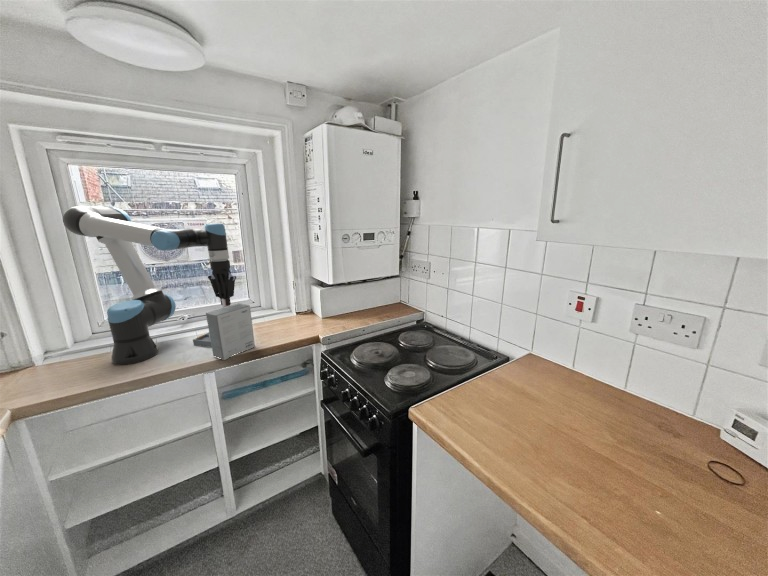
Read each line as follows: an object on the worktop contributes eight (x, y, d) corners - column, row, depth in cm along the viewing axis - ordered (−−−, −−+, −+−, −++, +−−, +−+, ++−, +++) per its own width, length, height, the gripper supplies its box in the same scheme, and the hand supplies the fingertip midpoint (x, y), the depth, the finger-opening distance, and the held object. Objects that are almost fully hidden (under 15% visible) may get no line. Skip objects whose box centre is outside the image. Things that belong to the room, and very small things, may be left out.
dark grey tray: (193, 345, 137) (192, 339, 137) (225, 329, 156) (224, 324, 156) (217, 347, 134) (216, 341, 134) (247, 331, 153) (246, 326, 153)
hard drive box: (245, 343, 139) (240, 302, 134) (255, 347, 135) (250, 305, 130) (212, 357, 126) (205, 312, 121) (222, 361, 122) (216, 315, 117)
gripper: (199, 260, 126) (208, 313, 132) (226, 261, 123) (233, 315, 129) (213, 258, 133) (221, 308, 139) (238, 259, 130) (245, 310, 136)
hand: (227, 312), depth 134 cm, fingers closed
